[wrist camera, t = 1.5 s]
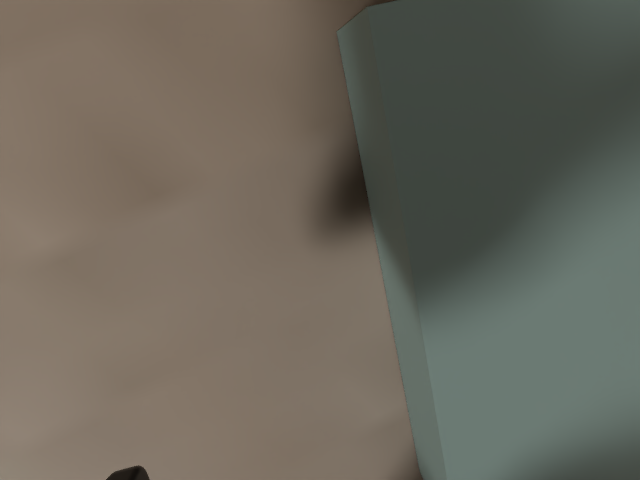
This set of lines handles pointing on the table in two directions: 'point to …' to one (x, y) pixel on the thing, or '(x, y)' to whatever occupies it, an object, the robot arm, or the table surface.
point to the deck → (507, 227)
